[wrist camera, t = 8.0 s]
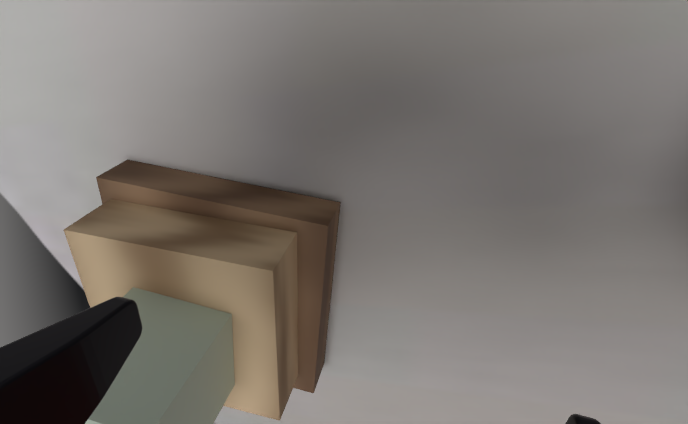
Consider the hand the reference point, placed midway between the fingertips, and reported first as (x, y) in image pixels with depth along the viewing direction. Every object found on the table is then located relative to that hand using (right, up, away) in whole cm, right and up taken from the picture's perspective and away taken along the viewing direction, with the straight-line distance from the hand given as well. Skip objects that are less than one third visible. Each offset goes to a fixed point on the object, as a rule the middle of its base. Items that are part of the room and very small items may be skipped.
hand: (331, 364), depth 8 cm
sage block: (-8, -3, +12) cm, 15 cm away
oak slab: (-7, -1, +15) cm, 16 cm away
